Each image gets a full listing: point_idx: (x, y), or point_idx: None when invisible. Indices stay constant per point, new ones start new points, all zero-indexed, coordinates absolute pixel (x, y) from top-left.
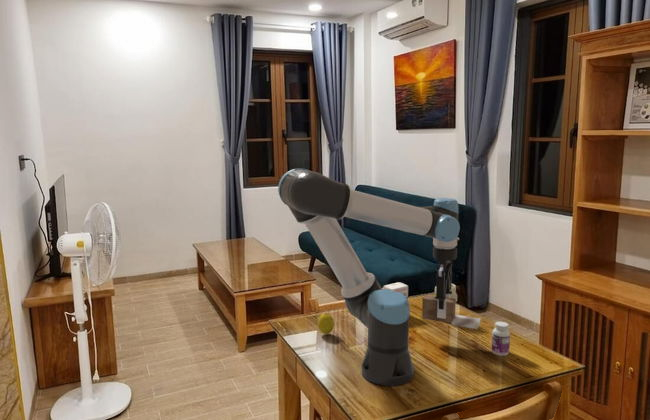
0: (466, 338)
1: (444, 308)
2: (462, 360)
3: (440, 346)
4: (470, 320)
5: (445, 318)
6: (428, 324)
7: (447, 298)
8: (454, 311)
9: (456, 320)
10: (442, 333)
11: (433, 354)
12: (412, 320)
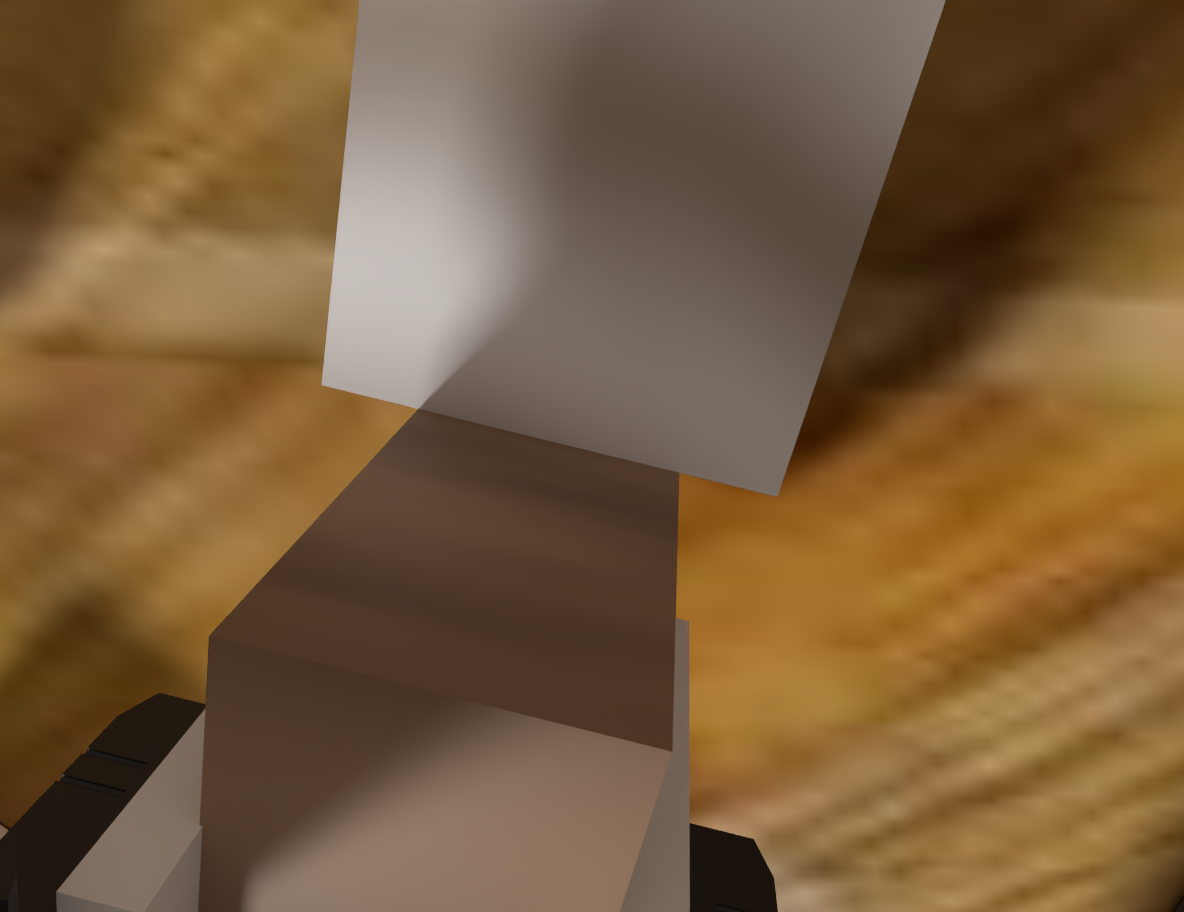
0: None
1: (679, 812)
2: (1121, 210)
3: None
4: (604, 57)
5: (686, 625)
6: (100, 577)
7: (269, 870)
8: (478, 489)
9: (667, 395)
10: (308, 431)
11: (954, 554)
12: (64, 730)
